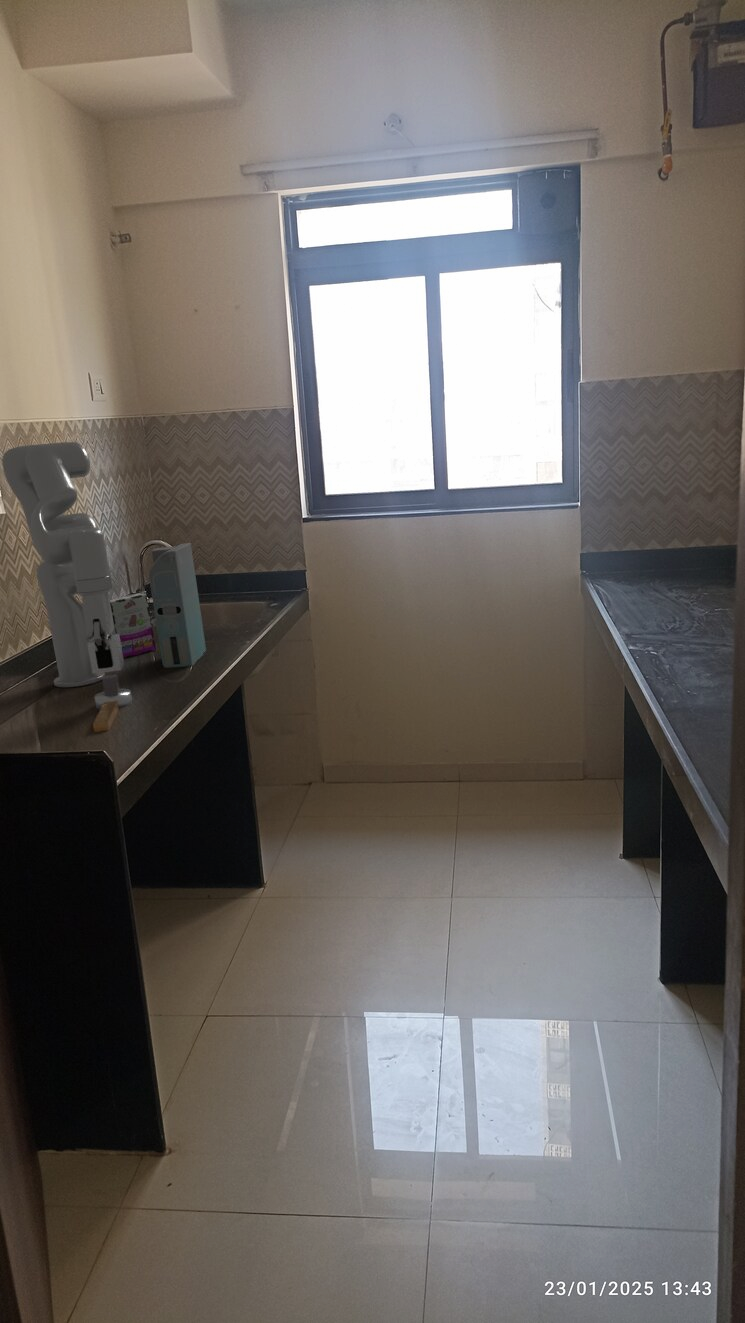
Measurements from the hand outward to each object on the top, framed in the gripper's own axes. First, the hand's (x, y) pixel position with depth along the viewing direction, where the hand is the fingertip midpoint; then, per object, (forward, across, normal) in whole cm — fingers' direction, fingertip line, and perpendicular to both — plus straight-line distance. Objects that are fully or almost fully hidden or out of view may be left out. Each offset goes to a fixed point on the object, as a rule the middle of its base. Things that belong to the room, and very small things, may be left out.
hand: (107, 663), depth 209 cm
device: (+10, -37, +14) cm, 41 cm away
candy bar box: (+9, -52, -1) cm, 53 cm away
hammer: (+10, +8, 0) cm, 13 cm away
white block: (+1, 0, 0) cm, 1 cm away
